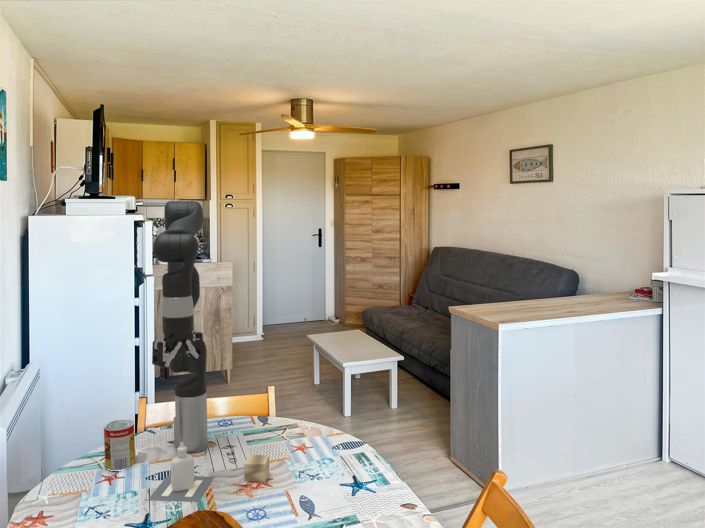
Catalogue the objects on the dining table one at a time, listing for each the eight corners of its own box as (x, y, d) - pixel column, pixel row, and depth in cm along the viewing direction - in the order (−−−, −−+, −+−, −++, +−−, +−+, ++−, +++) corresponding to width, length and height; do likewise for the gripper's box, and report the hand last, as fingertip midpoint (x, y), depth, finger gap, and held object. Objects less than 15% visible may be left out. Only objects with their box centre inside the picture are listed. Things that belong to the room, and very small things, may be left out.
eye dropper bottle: (174, 483, 143) (173, 439, 142) (195, 483, 143) (194, 439, 142) (169, 492, 138) (168, 446, 137) (191, 491, 138) (190, 446, 137)
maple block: (244, 483, 144) (244, 463, 144) (249, 473, 150) (249, 454, 149) (264, 484, 144) (264, 464, 144) (269, 474, 149) (269, 455, 149)
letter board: (147, 502, 134) (147, 500, 134) (167, 477, 147) (167, 475, 147) (198, 504, 134) (198, 501, 134) (215, 478, 147) (215, 476, 147)
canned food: (131, 457, 160) (130, 417, 159) (138, 467, 153) (136, 426, 152) (102, 463, 155) (101, 423, 154) (108, 474, 149) (106, 432, 148)
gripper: (164, 319, 128) (166, 386, 130) (209, 310, 140) (211, 372, 142) (143, 316, 132) (146, 381, 134) (189, 308, 144) (191, 367, 146)
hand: (179, 376), depth 138 cm, fingers open, 8 cm apart
